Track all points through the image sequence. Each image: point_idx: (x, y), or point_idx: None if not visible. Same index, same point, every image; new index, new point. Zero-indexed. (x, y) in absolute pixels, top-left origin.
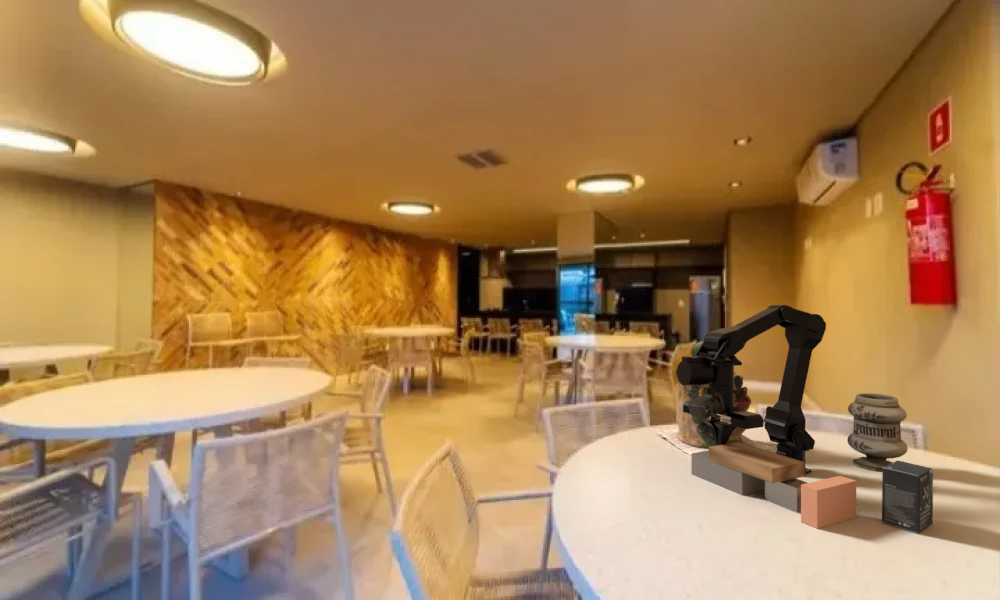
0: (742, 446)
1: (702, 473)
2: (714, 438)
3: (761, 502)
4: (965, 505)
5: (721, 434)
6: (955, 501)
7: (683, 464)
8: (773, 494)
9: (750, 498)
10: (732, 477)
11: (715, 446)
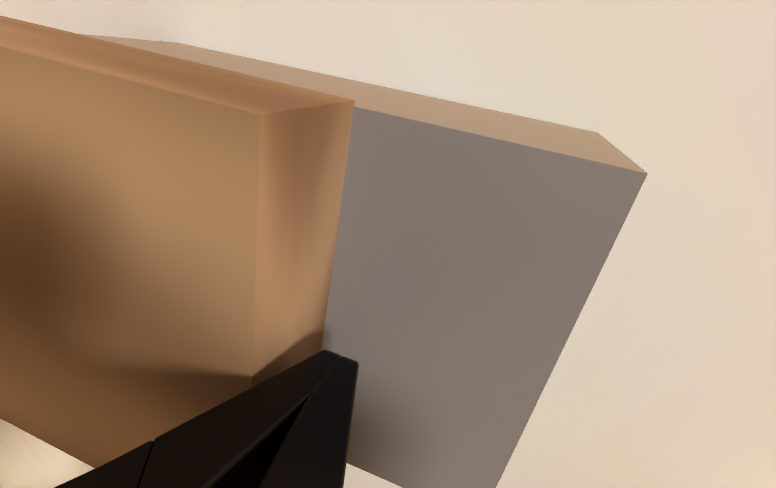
0: (138, 434)
1: (473, 110)
2: (331, 461)
3: (86, 34)
4: (3, 463)
5: (83, 482)
6: (21, 476)
7: (771, 310)
8: None
9: (136, 38)
10: (165, 50)
11: (232, 233)
